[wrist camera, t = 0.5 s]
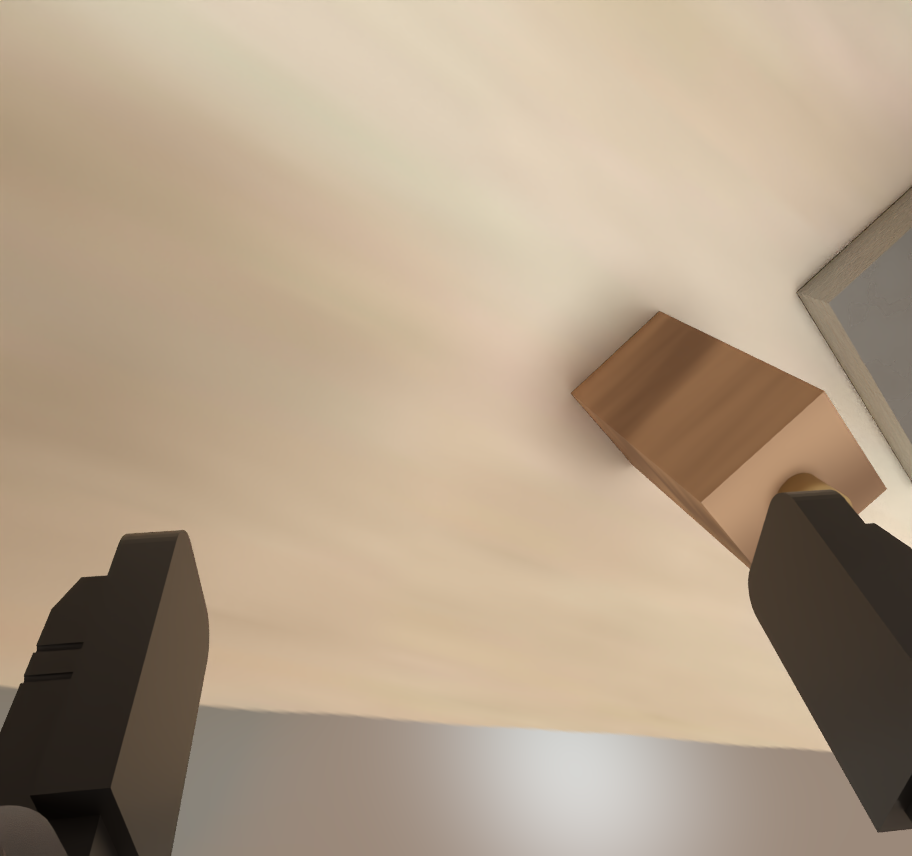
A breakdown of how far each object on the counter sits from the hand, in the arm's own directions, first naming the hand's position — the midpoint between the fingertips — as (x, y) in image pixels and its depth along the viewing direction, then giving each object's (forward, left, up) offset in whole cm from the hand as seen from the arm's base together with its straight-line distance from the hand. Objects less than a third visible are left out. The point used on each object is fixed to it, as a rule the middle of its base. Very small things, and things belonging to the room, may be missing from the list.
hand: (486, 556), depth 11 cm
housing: (+12, +9, -20) cm, 25 cm away
